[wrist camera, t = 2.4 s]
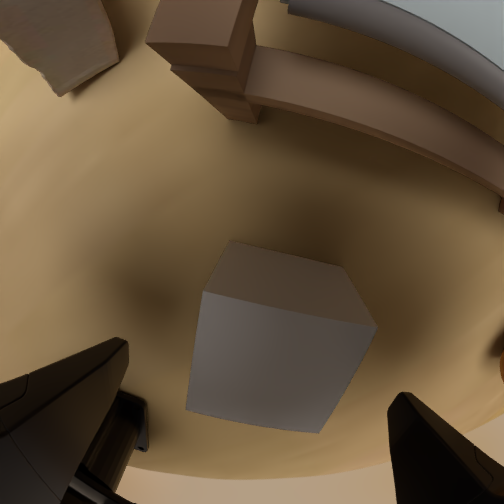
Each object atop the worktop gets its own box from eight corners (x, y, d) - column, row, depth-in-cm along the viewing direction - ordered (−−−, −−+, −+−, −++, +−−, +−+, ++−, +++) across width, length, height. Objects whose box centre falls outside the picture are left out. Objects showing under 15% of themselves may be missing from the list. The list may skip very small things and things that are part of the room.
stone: (308, 356, 14) (318, 433, 9) (210, 335, 14) (185, 409, 9) (342, 266, 12) (378, 327, 8) (229, 239, 12) (203, 290, 8)
